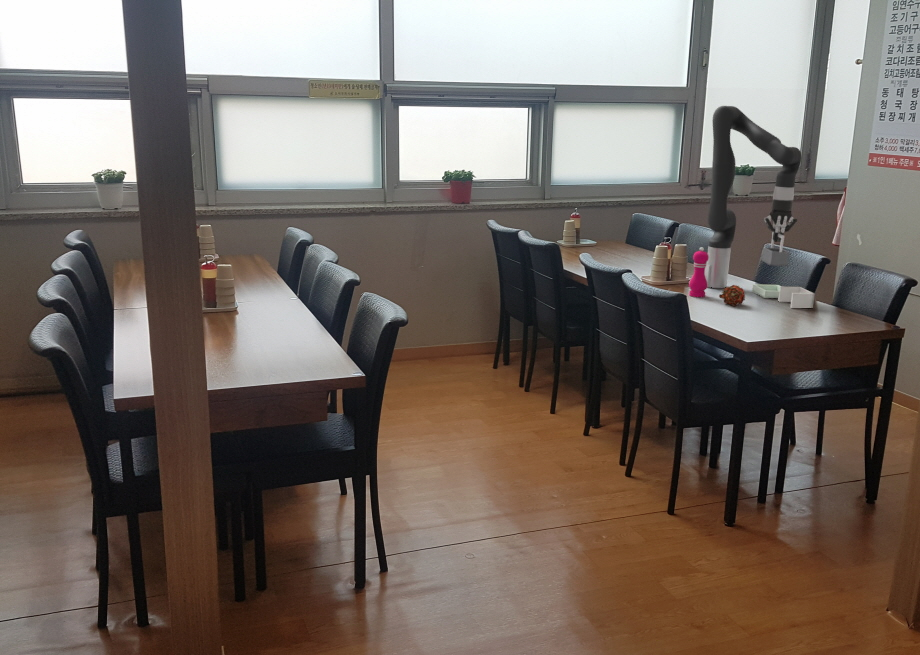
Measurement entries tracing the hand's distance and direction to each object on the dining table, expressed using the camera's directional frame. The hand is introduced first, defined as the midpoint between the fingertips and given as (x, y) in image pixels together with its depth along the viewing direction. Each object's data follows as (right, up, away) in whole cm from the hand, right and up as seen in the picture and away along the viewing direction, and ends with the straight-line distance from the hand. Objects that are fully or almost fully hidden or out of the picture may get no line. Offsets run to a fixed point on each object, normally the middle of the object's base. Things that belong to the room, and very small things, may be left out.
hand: (777, 241), depth 322 cm
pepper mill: (-31, -22, +4) cm, 38 cm away
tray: (+1, -21, +9) cm, 23 cm away
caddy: (0, -9, +2) cm, 9 cm away
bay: (+3, -26, -9) cm, 27 cm away
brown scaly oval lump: (-22, -26, -10) cm, 35 cm away
